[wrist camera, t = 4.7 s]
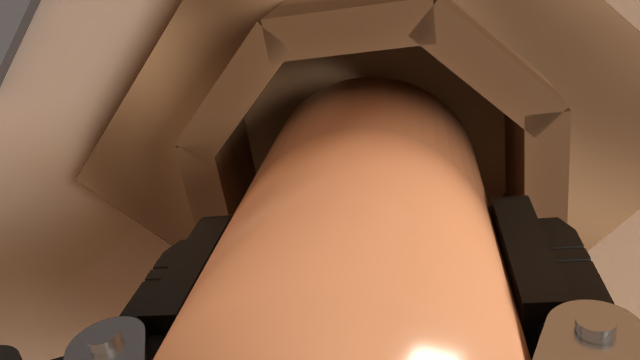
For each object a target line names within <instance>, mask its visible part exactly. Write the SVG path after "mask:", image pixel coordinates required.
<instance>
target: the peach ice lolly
mask: <svg viewBox="0 0 640 360" xmlns="http://www.w3.org/2000/svg"><path fill="white" fill-rule="evenodd" d="M153 360H531V358H530V355H529V351H528V347H527V344H526V340H525V336H524V333H523V329H522V325H521V322H520V318H519V314H518V311H517V307H516V304H515V300H514V296H513V293H512V289H511V285H510V282H509V278H508V274H507V271H506V267H505V264H504V260H503V256H502V253H501V249H500V245H499V242H498V238H497V234H496V231H495V227H494V223H493V220H492V216H491V213H490V209H489V205H488V202H487V198H486V194H485V191H484V187H483V183H482V180H481V176H480V173H479V169H478V165H477V162H476V158H475V154H474V151H473V147H472V143H471V141H470V139H469V136H468V134H467V132H466V130H465V128H464V127H463V125H462V123H461V122H460V120H459V119H458V118H457V117H456V115H455V114H454V113H453V112H452V110H451V109H450V108H448V107H447V106H446V105H445V104H444V103H443V102H442V101H441V100H439V99H438V98H437V97H435V96H434V95H432V94H431V93H429V92H427V91H425V90H424V89H422V88H420V87H418V86H415V85H413V84H410V83H407V82H404V81H400V80H396V79H391V78H383V77H359V78H354V79H348V80H344V81H341V82H337V83H334V84H332V85H329V86H327V87H325V88H323V89H321V90H319V91H318V92H316V93H314V94H313V95H311V96H310V97H308V98H307V99H306V100H305V101H304V102H302V103H301V104H300V105H299V106H298V107H297V108H296V109H295V110H294V112H293V113H292V114H291V115H290V116H289V118H288V119H287V121H286V122H285V124H284V125H283V127H282V129H281V131H280V133H279V134H278V136H277V138H276V140H275V142H274V143H273V145H272V147H271V149H270V151H269V152H268V154H267V156H266V158H265V160H264V161H263V163H262V165H261V167H260V168H259V170H258V172H257V174H256V176H255V177H254V179H253V181H252V183H251V185H250V186H249V188H248V190H247V192H246V194H245V195H244V197H243V199H242V201H241V203H240V204H239V206H238V208H237V210H236V211H235V213H234V215H233V217H232V219H231V220H230V222H229V224H228V226H227V228H226V229H225V231H224V233H223V235H222V237H221V238H220V240H219V242H218V244H217V246H216V247H215V249H214V251H213V253H212V254H211V256H210V258H209V260H208V262H207V263H206V265H205V267H204V269H203V271H202V272H201V274H200V276H199V278H198V280H197V281H196V283H195V285H194V287H193V289H192V290H191V292H190V294H189V296H188V297H187V299H186V301H185V303H184V305H183V306H182V308H181V310H180V312H179V314H178V315H177V317H176V319H175V321H174V323H173V324H172V326H171V328H170V330H169V332H168V333H167V335H166V337H165V339H164V340H163V342H162V344H161V346H160V348H159V349H158V351H157V353H156V355H155V357H154V358H153Z"/></svg>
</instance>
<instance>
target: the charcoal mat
mask: <svg viewBox="0 0 640 360" xmlns="http://www.w3.org/2000/svg"><path fill="white" fill-rule="evenodd" d="M39 2H40V0H0V86H1V83H2V81H3V79H4V77H5V75H6V73H7V71H8V68H9V66H10V64H11V62H12V60H13V58H14V56H15V54H16V51H17V49H18V47H19V45H20V43H21V41H22V39H23V37H24V34H25V32H26V30H27V28H28V26H29V24H30V22H31V20H32V17H33V15H34V13H35V11H36V9H37V7H38V5H39Z"/></svg>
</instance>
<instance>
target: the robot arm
mask: <svg viewBox="0 0 640 360" xmlns="http://www.w3.org/2000/svg"><path fill="white" fill-rule="evenodd" d="M490 213H491V216H492V220H493V223H494V227H495V231H496V234H497V238H498V242H499V245H500V249H501V253H502V256H503V260H504V264H505V267H506V271H507V274H508V278H509V282H510V285H511V289H512V293H513V296H514V300H515V304H516V307H517V311H518V314H519V318H520V322H521V325H522V329H523V333H524V336H525V340H526V344H527V347H528V351H529V355H530V358H531V360H640V319H639V318H638V317H636V316H635V315H634V314H633V313H631V312H629V311H628V310H626V309H624V308H622V307H620V306H617V305H615V304H614V302H613V300H612V298H611V296H610V294H609V292H608V291H607V289H606V287H605V285H604V283H603V281H602V279H601V277H600V275H599V273H598V271H597V269H596V268H595V266H594V264H593V262H592V261H591V258H590V256H589V254H588V252H587V250H586V248H584V244H583V243H582V241H581V239H580V237H579V235H578V233H577V231H576V230H575V229H574V228H573V227H571V226H570V225H568V224H567V223H565V222H564V221H563V220H561V219H560V218H558V217H552V218H538V217H537V215H536V212H535V210H534V208H533V205H532V203H531V200H530V198H529V196H528V195H524V196H509V197H494V198H491V199H490ZM232 217H233V215H226V216H212V217H202V218H201V219H200V220H199V221H198V223H197V224H196V226H195V227H194V229H193V230H192V232H191V233H190V235H189V237H188V238H187V239H186V240H180V241H178V242H177V243H176V244H174V245H173V246H172V247H170V248H169V249H168V250H166V251H165V252H164V253H163V254H162V255H161V257H160V258H159V259H158V261H157V262H156V264H155V265H154V267H153V270H151V271H150V272H149V274H148V275H147V277H146V278H145V282H143V283H142V284H141V285H140V287H139V288H138V290H137V291H136V293H135V294H134V295H133V297H132V298H131V300H130V301H129V303H128V304H127V306H126V307H125V308H124V310H123V311H122V313H121V314H120V316H119V317H114V318H109V319H106V320H103V321H100V322H98V323H95V324H93V325H91V326H90V327H88V328H86V329H85V330H83V331H82V332H80V333H79V334H78V335H77V336H76V337H75V338H74V339H73V340H72V341H71V342H70V343H69V345H68V347H67V348H66V351H65V354H64V356H63V357H59V358H55V359H52V360H153V358H154V357H155V355H156V353H157V351H158V349H159V348H160V346H161V344H162V342H163V340H164V339H165V337H166V335H167V333H168V332H169V330H170V328H171V326H172V324H173V323H174V321H175V319H176V317H177V315H178V314H179V312H180V310H181V308H182V306H183V305H184V303H185V301H186V299H187V297H188V296H189V294H190V292H191V290H192V289H193V287H194V285H195V283H196V281H197V280H198V278H199V276H200V274H201V272H202V271H203V269H204V267H205V265H206V263H207V262H208V260H209V258H210V256H211V254H212V253H213V251H214V249H215V247H216V246H217V244H218V242H219V240H220V238H221V237H222V235H223V233H224V231H225V229H226V228H227V226H228V224H229V222H230V220H231V219H232ZM0 360H22V358H21V356H20V353H19V351H18V350H17V349H16V348H14V347H12V346H7V345H0Z"/></svg>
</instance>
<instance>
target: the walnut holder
mask: <svg viewBox="0 0 640 360" xmlns="http://www.w3.org/2000/svg"><path fill="white" fill-rule="evenodd" d="M359 77H383V78H391V79H396V80H400V81H404V82H407V83H410V84H413V85H415V86H418V87H420V88H422V89H424V90H425V91H427V92H429V93H431V94H432V95H434V96H435V97H437V98H438V99H439V100H441V101H442V102H443V103H444V104H445V105H446V106H447V107H448V108H450V109H451V110H452V112H453V113H454V114H455V115H456V117H457V118H458V119H459V120H460V122H461V123H462V125H463V127H464V128H465V130H466V132H467V134H468V136H469V139H470V141H471V143H472V147H473V151H474V154H475V158H476V162H477V165H478V169H479V173H480V176H481V180H482V183H483V187H484V191H485V194H486V198H487V202H488V205H489V209H490V199H491V198H494V197H509V196H524V195H528V196H529V198H530V200H531V203H532V205H533V208H534V210H535V212H536V215H537V217H538V218H552V217H558V218H560V219H561V220H563V221H564V222H565V223H567V224H568V225H570V226H571V227H573V228H574V229H575V230H576V231H577V233H578V235H579V237H580V239H581V241H582V243H583V244H584V248H586V250H587V251H588V250H590V249H591V248H592V247H593V246H594V245H596V244H597V243H598V242H599V241H601V240H602V239H603V238H604V237H606V236H607V235H608V234H609V233H610V232H612V231H613V230H614V229H615V228H617V227H618V226H619V225H620V224H621V223H623V222H624V221H625V220H626V219H628V218H629V217H630V216H631V215H633V214H634V213H635V212H636V211H637V210H639V209H640V31H639V30H637V29H636V28H635V27H634V26H633V25H632V24H631V23H630V22H628V21H627V20H626V19H625V18H624V17H623V16H622V15H620V14H619V13H618V12H617V11H616V10H615V9H614V8H613V7H611V6H610V5H609V4H608V3H607V2H606V1H605V0H183V1H182V2H181V4H180V6H179V7H178V9H177V11H176V12H175V14H174V16H173V17H172V19H171V21H170V22H169V24H168V26H167V27H166V29H165V31H164V32H163V34H162V36H161V38H160V39H159V41H158V43H157V44H156V46H155V48H154V49H153V51H152V53H151V54H150V56H149V58H148V59H147V61H146V63H145V64H144V66H143V68H142V69H141V71H140V73H139V74H138V76H137V78H136V79H135V81H134V83H133V85H132V86H131V88H130V90H129V91H128V93H127V95H126V96H125V98H124V100H123V101H122V103H121V105H120V106H119V108H118V110H117V111H116V113H115V115H114V116H113V118H112V120H111V121H110V123H109V125H108V126H107V128H106V130H105V132H104V133H103V135H102V137H101V138H100V140H99V142H98V143H97V145H96V147H95V148H94V150H93V152H92V153H91V155H90V157H89V158H88V160H87V162H86V163H85V165H84V167H83V168H82V170H81V172H80V173H79V175H78V177H77V179H76V181H77V182H79V183H80V184H82V185H83V186H85V187H86V188H88V189H89V190H91V191H92V192H93V193H95V194H96V195H98V196H99V197H101V198H102V199H104V200H105V201H107V202H108V203H110V204H111V205H113V206H114V207H116V208H117V209H119V210H120V211H122V212H123V213H125V214H126V215H128V216H129V217H131V218H132V219H134V220H135V221H137V222H138V223H140V224H141V225H143V226H144V227H145V228H147V229H148V230H150V231H151V232H153V233H154V234H156V235H157V236H159V237H160V238H162V239H163V240H165V241H166V242H168V243H169V244H171V245H172V246H173V245H174V244H176V243H177V242H178V241H180V240H186V239H187V238H188V237H189V235H190V233H191V232H192V230H193V229H194V227H195V226H196V224H197V223H198V221H199V220H200V219H201V218H202V217H212V216H226V215H234V213H235V211H236V210H237V208H238V206H239V204H240V203H241V201H242V199H243V197H244V195H245V194H246V192H247V190H248V188H249V186H250V185H251V183H252V181H253V179H254V177H255V176H256V174H257V172H258V170H259V168H260V167H261V165H262V163H263V161H264V160H265V158H266V156H267V154H268V152H269V151H270V149H271V147H272V145H273V143H274V142H275V140H276V138H277V136H278V134H279V133H280V131H281V129H282V127H283V125H284V124H285V122H286V121H287V119H288V118H289V116H290V115H291V114H292V113H293V112H294V110H295V109H296V108H297V107H298V106H299V105H300V104H301V103H302V102H304V101H305V100H306V99H307V98H308V97H310V96H311V95H313V94H314V93H316V92H318V91H319V90H321V89H323V88H325V87H327V86H329V85H332V84H334V83H337V82H341V81H344V80H348V79H354V78H359Z"/></svg>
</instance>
